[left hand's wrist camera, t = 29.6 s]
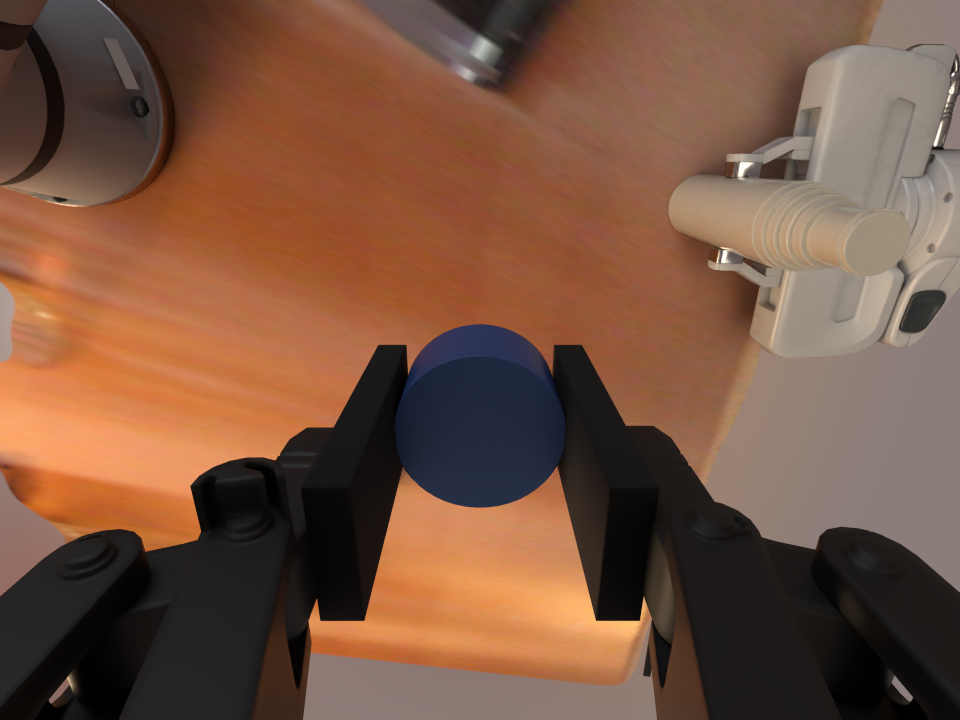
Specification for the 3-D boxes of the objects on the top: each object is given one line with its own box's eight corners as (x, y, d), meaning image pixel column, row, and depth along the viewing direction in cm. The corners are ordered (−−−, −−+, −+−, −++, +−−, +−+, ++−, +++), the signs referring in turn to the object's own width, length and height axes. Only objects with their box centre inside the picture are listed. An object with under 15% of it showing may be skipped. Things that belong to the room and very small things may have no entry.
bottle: (727, 232, 42) (925, 290, 24) (668, 240, 43) (815, 304, 24) (729, 169, 41) (944, 178, 22) (667, 178, 41) (826, 195, 22)
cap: (580, 360, 14) (598, 397, 12) (514, 477, 15) (519, 529, 13) (440, 299, 13) (433, 326, 11) (384, 426, 15) (368, 472, 13)
